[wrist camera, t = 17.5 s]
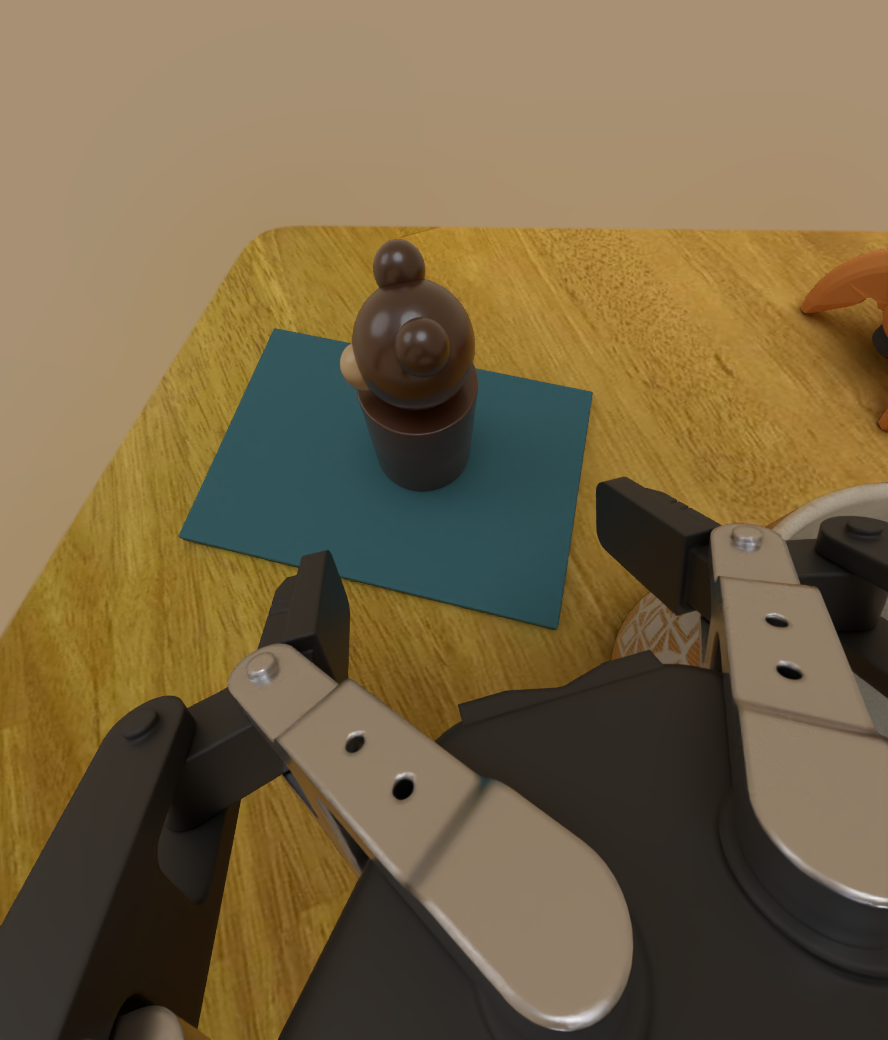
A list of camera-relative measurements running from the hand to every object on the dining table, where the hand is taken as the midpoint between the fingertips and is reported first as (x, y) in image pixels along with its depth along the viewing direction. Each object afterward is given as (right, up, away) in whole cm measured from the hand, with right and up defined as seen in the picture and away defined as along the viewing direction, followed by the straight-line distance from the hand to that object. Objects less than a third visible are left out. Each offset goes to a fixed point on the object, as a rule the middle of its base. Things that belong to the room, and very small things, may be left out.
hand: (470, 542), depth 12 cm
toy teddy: (-2, +5, +11) cm, 12 cm away
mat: (-3, +4, +11) cm, 12 cm away
